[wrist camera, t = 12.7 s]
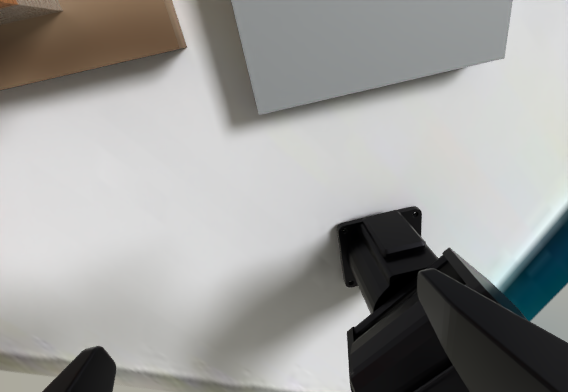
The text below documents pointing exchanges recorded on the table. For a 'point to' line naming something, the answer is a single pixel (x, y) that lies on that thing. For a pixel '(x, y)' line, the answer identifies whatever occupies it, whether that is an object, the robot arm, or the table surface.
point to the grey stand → (361, 44)
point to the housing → (26, 9)
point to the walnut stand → (86, 38)
